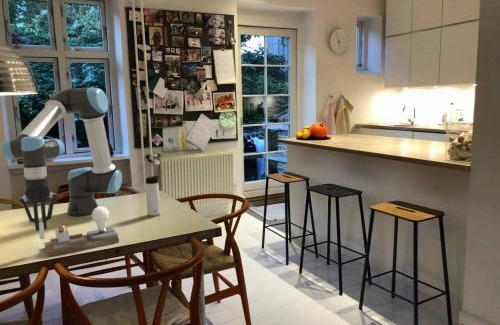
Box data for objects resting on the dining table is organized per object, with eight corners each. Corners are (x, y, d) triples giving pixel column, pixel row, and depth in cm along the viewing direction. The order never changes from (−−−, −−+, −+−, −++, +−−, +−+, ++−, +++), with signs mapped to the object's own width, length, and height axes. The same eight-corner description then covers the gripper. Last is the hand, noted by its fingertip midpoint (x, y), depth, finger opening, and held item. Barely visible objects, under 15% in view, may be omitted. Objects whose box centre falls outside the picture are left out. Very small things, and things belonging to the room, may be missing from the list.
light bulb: (113, 232, 171) (111, 206, 169) (98, 236, 166) (96, 209, 164) (105, 228, 175) (103, 203, 173) (90, 232, 170) (88, 207, 168)
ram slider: (56, 242, 163) (54, 225, 162) (67, 239, 166) (65, 223, 164) (59, 246, 158) (57, 229, 157) (70, 244, 161) (68, 227, 160)
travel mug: (157, 217, 203) (155, 177, 199) (145, 216, 204) (142, 177, 201) (162, 213, 209) (160, 175, 206) (150, 213, 210) (148, 174, 207)
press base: (44, 247, 164) (44, 239, 164) (110, 234, 178) (110, 226, 178) (49, 256, 154) (48, 248, 154) (118, 242, 168) (118, 234, 168)
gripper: (17, 181, 147) (23, 244, 151) (56, 177, 154) (62, 237, 158) (15, 178, 153) (22, 238, 157) (53, 174, 161) (59, 232, 164)
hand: (42, 238), depth 157 cm, fingers closed
